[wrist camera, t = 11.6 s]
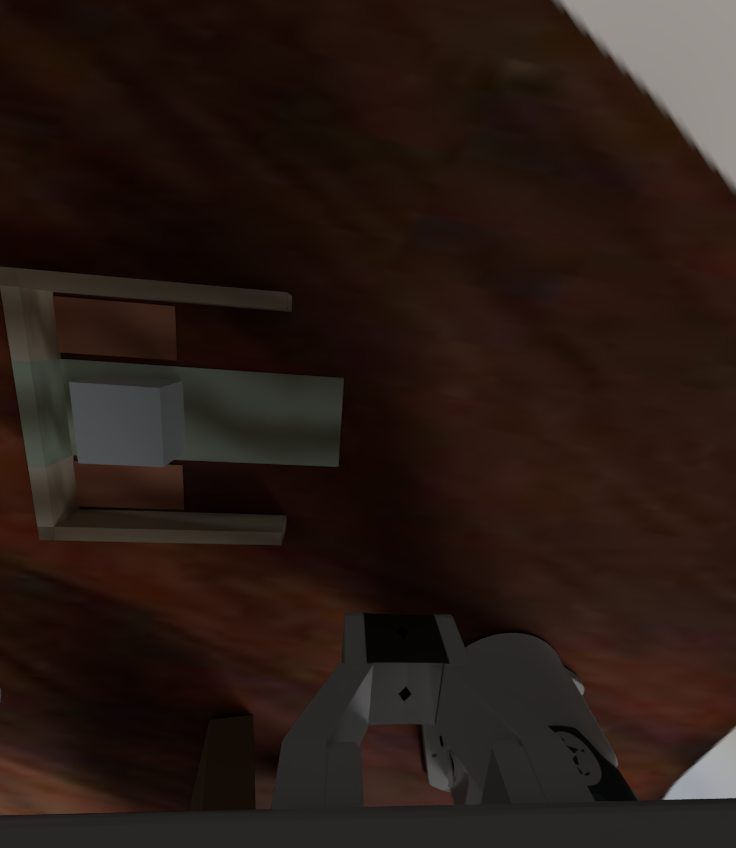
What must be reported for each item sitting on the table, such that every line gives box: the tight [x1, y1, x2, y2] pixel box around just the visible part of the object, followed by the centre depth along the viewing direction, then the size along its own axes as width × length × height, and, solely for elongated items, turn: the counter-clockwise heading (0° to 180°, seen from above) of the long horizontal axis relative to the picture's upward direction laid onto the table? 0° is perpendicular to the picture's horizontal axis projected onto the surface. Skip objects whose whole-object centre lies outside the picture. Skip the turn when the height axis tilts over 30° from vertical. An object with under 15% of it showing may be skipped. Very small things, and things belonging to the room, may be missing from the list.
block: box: [69, 375, 186, 467], centre depth 28 cm, size 6×6×4 cm
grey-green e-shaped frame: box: [0, 267, 344, 545], centre depth 29 cm, size 20×24×3 cm
